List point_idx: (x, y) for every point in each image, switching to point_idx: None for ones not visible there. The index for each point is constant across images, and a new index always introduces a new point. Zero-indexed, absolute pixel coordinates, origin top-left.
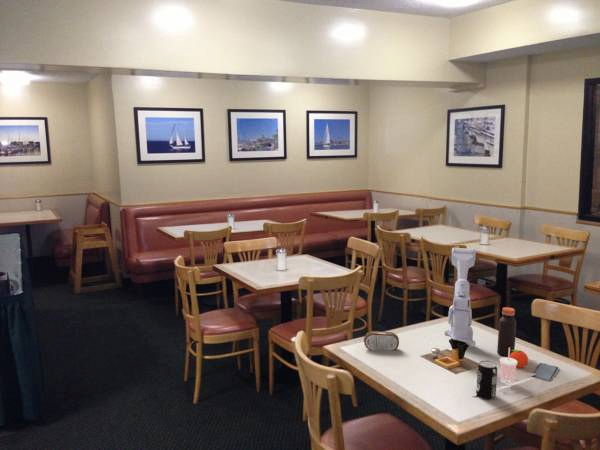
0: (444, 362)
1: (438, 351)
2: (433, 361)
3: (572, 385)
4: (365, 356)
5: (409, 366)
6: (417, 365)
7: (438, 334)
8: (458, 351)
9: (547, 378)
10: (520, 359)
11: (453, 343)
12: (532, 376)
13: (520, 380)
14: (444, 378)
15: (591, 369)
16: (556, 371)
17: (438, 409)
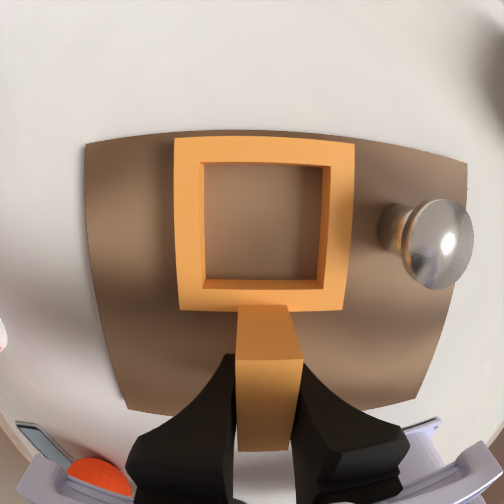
0: (300, 231)
1: (409, 243)
2: (364, 163)
3: (5, 427)
4: (501, 16)
5: (381, 8)
6: (377, 47)
7: (476, 423)
8: (228, 394)
9: (25, 433)
10: None
11: (320, 445)
12: (35, 426)
13: (12, 382)
14: (113, 54)
15: None
16: None
17: None
